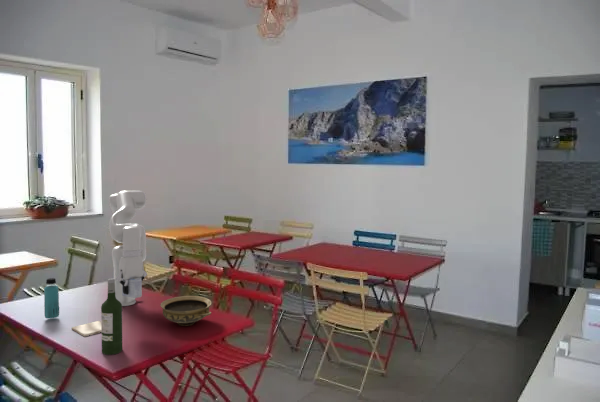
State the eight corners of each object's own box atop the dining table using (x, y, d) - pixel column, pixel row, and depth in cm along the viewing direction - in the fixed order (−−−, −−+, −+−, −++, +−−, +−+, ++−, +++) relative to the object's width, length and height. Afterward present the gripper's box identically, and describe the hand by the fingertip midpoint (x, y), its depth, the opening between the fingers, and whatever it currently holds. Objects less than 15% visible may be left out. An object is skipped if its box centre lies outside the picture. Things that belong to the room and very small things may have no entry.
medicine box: (142, 296, 220) (142, 277, 219) (134, 298, 216) (134, 279, 215) (129, 293, 223) (129, 275, 223) (121, 295, 219) (121, 277, 219)
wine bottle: (97, 353, 194) (96, 280, 192) (111, 346, 202) (110, 275, 199) (112, 356, 192) (112, 282, 189) (126, 349, 199) (126, 277, 196)
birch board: (99, 322, 230) (99, 320, 230) (112, 329, 222) (112, 327, 221) (71, 329, 220) (71, 327, 220) (84, 336, 212) (84, 334, 212)
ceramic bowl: (144, 324, 229) (144, 303, 229) (181, 311, 250) (181, 292, 249) (191, 337, 214) (191, 315, 213) (226, 322, 235) (226, 302, 234)
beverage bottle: (53, 322, 230) (52, 280, 228) (41, 320, 231) (40, 279, 229) (62, 317, 236) (61, 277, 234) (50, 316, 237) (49, 276, 236)
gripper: (144, 249, 227) (144, 287, 228) (109, 254, 214) (109, 294, 216) (153, 252, 222) (153, 290, 223) (117, 257, 209) (118, 298, 211)
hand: (131, 292), depth 219 cm, fingers closed on medicine box, 5 cm apart
